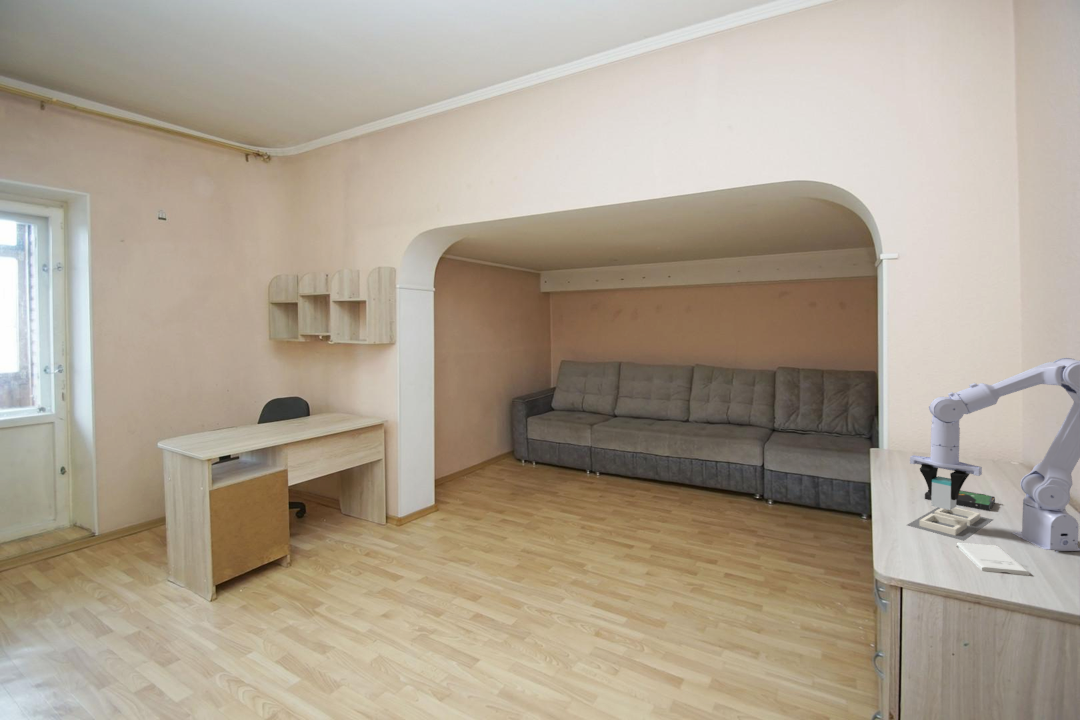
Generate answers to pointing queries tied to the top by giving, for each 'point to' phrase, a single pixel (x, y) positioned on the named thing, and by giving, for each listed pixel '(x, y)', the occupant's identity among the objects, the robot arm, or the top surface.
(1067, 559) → the top surface
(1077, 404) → the robot arm
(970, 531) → the mat
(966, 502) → the disk drive
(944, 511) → the frame
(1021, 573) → the external hard drive
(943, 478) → the plug
